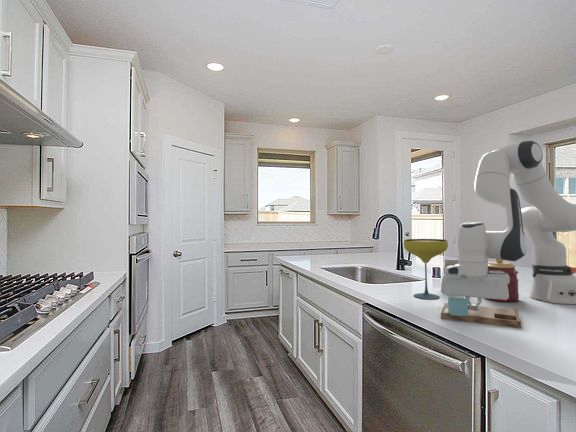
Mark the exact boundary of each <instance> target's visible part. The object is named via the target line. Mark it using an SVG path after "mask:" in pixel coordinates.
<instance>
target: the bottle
mask: <svg viewBox="0 0 576 432" xmlns="http://www.w3.org/2000/svg"><path fill="white" fill-rule="evenodd" d="M458 259H459V258H453V257H449V258H447V257H445V258H444V267H443V276H444V275H445V267H447V266H450V265H454V264H458Z"/></svg>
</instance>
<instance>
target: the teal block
mask: <svg viewBox="0 0 576 432" xmlns="http://www.w3.org/2000/svg"><path fill="white" fill-rule="evenodd" d="M447 303H448V312H449V313H450V314H451V315H455V316H468V301H467V300H466V299H465V297H463V296H457V297H456V296H454V297H453V296H448V297H447Z"/></svg>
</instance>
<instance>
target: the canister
mask: <svg viewBox="0 0 576 432" xmlns="http://www.w3.org/2000/svg"><path fill="white" fill-rule="evenodd" d="M516 267H517V266H516V265H515V264H513V263H512V262H510V261H504V260H503V259H495V261H492V260H491V261H488V270H493V271H504V272H505V273H507V274H508V275H509V277H510V282H509V284H508V285H507V286H508V291H509V298H508V299H507V300H499V299H488V298H485V299H486V300H488V301H494V302H500V303H501V302H502V303H516V302H518V301H519V298H520V293H519V279H518V274H519V270H516ZM488 274H489V273H488ZM505 275H506V274H505Z"/></svg>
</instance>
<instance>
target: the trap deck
mask: <svg viewBox="0 0 576 432" xmlns="http://www.w3.org/2000/svg"><path fill="white" fill-rule="evenodd" d="M440 319H442V320H453V321H459V322H460V321H461V322H467V323H469V322H470V323H478V324H485V325H493V326H500V327H501V326H502V327H508V328H509V327H510V328H519V329H522V321H521V317H520V314H519V312H518V309H513V308H512V309H511V308H499V307H491V306H481V305H479V311H475V310H469V305H468V316H455V315H451V314H450V313H449V312H448V302H444V305H443V306H442V309H441V311H440Z"/></svg>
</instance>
